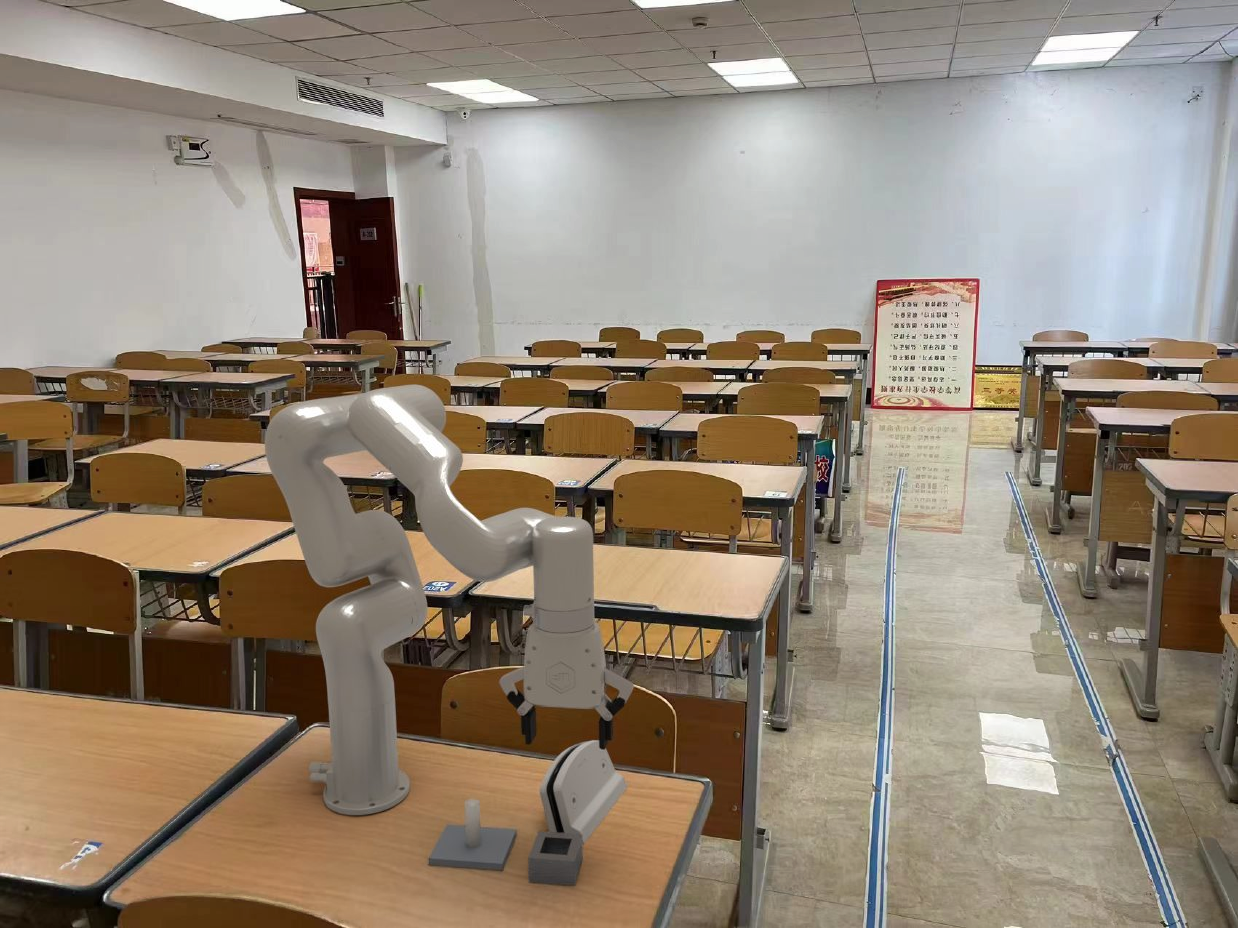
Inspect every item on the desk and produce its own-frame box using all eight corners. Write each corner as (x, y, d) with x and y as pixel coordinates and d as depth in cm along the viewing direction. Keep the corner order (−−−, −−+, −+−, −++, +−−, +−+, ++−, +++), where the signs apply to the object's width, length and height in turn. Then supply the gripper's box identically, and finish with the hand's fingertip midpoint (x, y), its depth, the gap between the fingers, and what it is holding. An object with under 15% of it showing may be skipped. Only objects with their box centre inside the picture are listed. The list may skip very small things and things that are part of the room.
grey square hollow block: (528, 882, 120) (528, 857, 119) (538, 854, 126) (538, 831, 125) (574, 885, 119) (574, 861, 119) (582, 858, 125) (582, 834, 125)
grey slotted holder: (582, 845, 128) (559, 777, 128) (553, 848, 130) (530, 781, 129) (628, 786, 143) (607, 725, 143) (601, 789, 145) (581, 729, 145)
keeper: (428, 864, 124) (426, 816, 122) (447, 830, 132) (445, 785, 130) (502, 870, 123) (501, 822, 121) (516, 835, 130) (515, 789, 129)
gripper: (489, 623, 115) (494, 751, 118) (628, 629, 112) (629, 761, 115) (506, 603, 122) (510, 724, 125) (636, 608, 120) (637, 733, 123)
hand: (567, 742), depth 120 cm, fingers open, 9 cm apart
